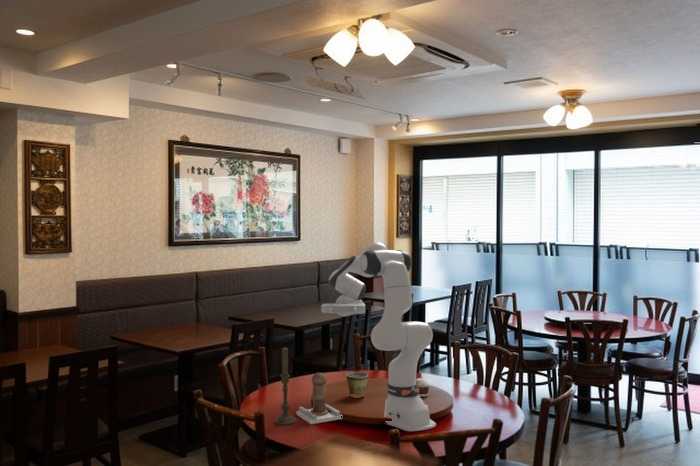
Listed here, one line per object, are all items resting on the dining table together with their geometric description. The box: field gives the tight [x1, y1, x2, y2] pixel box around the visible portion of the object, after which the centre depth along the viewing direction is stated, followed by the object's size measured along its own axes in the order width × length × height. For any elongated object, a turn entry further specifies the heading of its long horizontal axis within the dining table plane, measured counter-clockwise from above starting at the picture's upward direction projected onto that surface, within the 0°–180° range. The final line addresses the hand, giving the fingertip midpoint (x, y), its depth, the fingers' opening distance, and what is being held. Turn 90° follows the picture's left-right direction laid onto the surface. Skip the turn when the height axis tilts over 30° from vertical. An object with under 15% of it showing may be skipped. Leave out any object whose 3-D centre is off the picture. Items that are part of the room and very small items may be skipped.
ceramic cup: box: [345, 371, 369, 395], centre depth 277 cm, size 13×10×10 cm
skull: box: [416, 377, 430, 394], centre depth 279 cm, size 12×10×10 cm
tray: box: [296, 402, 343, 425], centre depth 247 cm, size 14×14×3 cm
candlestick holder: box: [273, 347, 298, 426], centre depth 241 cm, size 9×9×30 cm
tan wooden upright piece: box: [311, 372, 328, 416], centre depth 247 cm, size 7×7×16 cm
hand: (342, 310), depth 270 cm, fingers open, 8 cm apart
